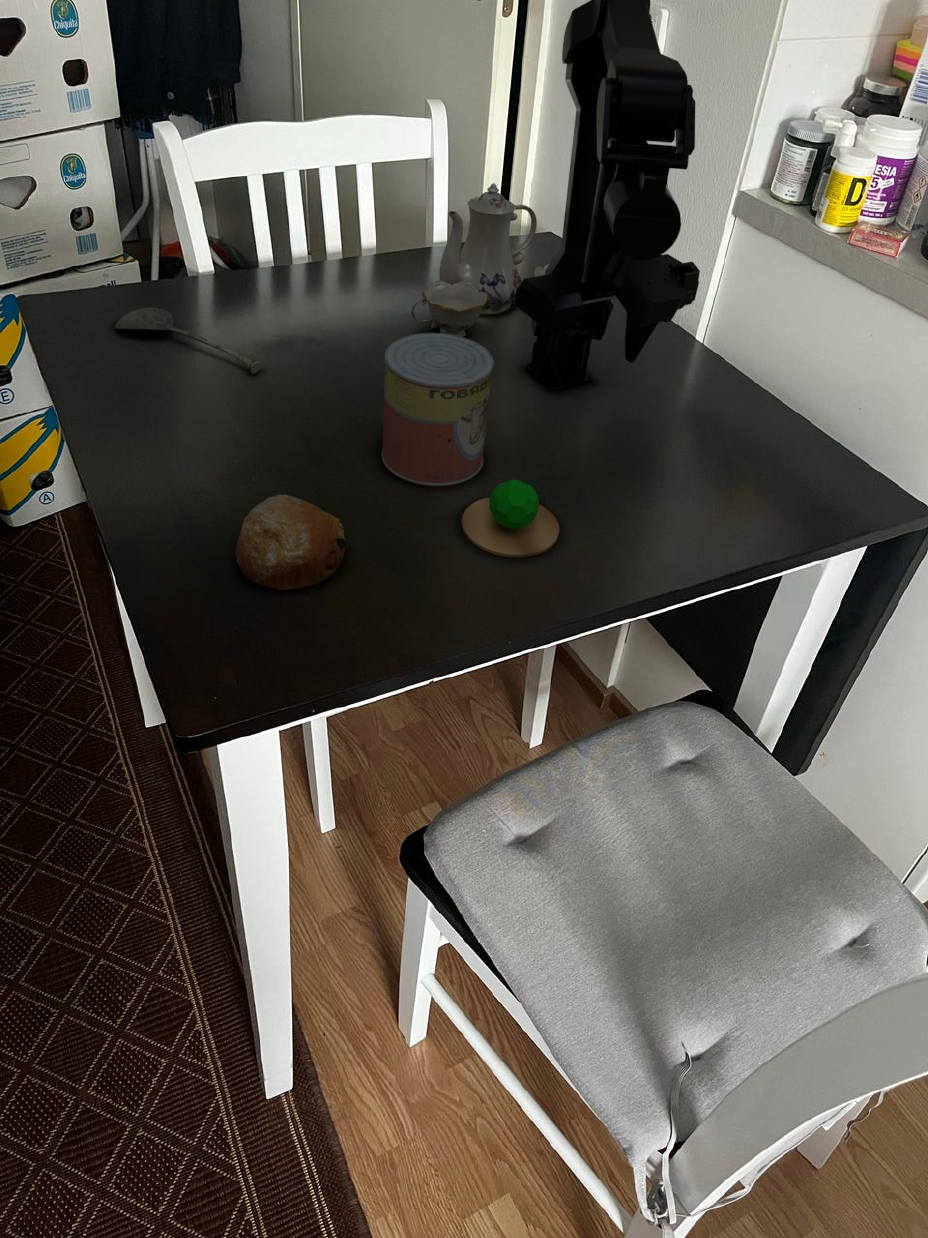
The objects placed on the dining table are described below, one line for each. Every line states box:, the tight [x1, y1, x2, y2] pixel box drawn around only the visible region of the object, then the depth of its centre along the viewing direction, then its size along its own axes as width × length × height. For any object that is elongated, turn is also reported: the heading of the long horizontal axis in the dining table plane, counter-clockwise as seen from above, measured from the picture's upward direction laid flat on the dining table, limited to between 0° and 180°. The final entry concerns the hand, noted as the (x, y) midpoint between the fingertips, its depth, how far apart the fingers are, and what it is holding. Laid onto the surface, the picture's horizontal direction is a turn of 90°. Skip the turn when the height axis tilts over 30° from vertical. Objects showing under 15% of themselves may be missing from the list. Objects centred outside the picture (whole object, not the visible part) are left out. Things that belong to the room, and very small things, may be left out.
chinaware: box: [411, 182, 551, 337], centre depth 133 cm, size 28×17×17 cm, turn 127°
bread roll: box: [235, 493, 348, 591], centre depth 93 cm, size 10×10×8 cm
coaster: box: [461, 496, 560, 559], centre depth 101 cm, size 10×10×1 cm
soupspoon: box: [114, 307, 262, 375], centre depth 123 cm, size 22×3×7 cm
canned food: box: [381, 332, 495, 487], centre depth 105 cm, size 11×11×12 cm
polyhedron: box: [489, 478, 540, 530], centre depth 99 cm, size 5×5×5 cm
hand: (594, 368), depth 102 cm, fingers open, 9 cm apart
